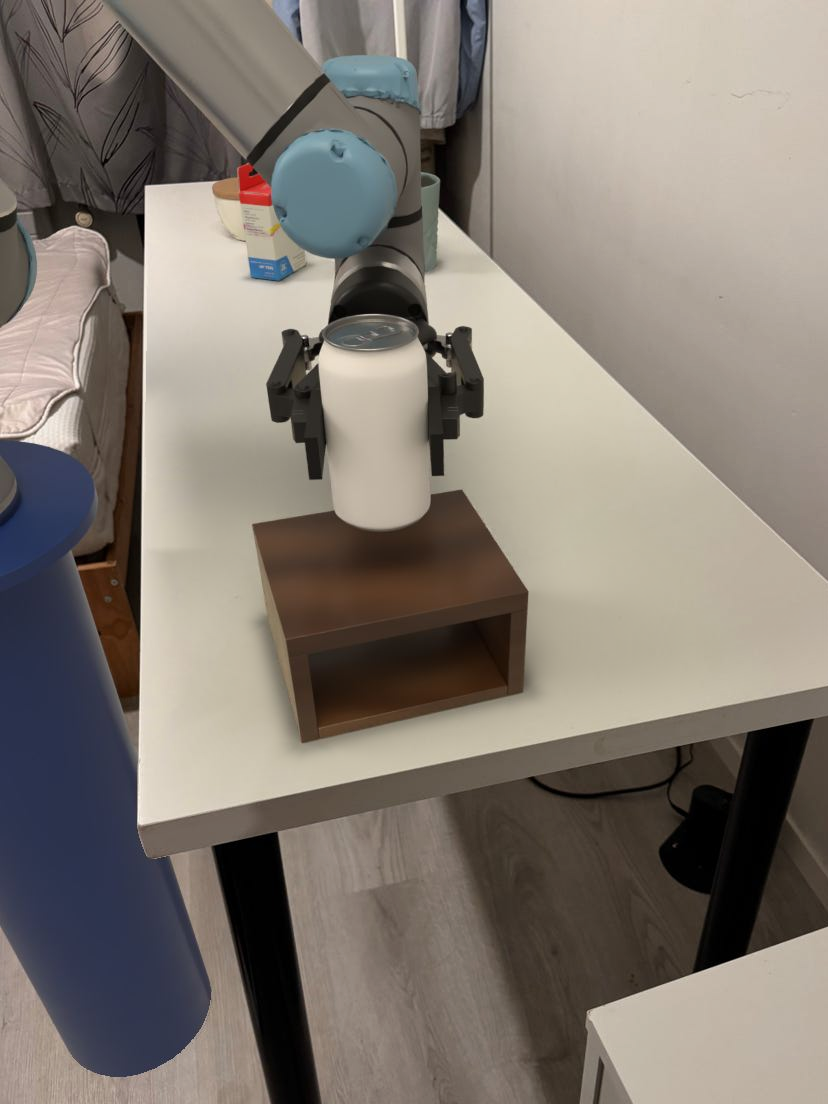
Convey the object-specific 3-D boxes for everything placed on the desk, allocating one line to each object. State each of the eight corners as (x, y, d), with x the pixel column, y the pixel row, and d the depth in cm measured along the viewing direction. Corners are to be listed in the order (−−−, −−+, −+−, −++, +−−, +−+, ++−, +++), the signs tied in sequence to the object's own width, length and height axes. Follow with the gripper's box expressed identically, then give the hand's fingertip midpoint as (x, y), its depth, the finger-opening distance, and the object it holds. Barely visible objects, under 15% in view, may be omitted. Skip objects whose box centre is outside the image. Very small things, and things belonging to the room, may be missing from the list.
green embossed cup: (447, 257, 144) (446, 172, 136) (433, 278, 136) (431, 190, 128) (383, 253, 145) (379, 169, 137) (366, 273, 137) (360, 186, 130)
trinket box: (281, 224, 157) (274, 163, 151) (291, 242, 149) (284, 179, 143) (216, 229, 154) (206, 167, 148) (223, 248, 146) (213, 183, 140)
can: (314, 506, 62) (292, 329, 54) (390, 474, 65) (379, 303, 58) (374, 546, 58) (360, 362, 51) (451, 510, 62) (448, 332, 54)
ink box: (279, 282, 134) (265, 171, 125) (249, 278, 135) (233, 167, 126) (307, 264, 140) (296, 157, 131) (278, 261, 141) (265, 154, 132)
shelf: (268, 621, 73) (251, 523, 67) (462, 584, 77) (462, 488, 71) (301, 743, 62) (285, 640, 57) (523, 692, 66) (528, 591, 61)
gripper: (503, 358, 74) (538, 507, 57) (258, 364, 73) (216, 518, 55) (505, 262, 70) (545, 392, 52) (244, 266, 68) (193, 400, 51)
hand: (375, 456), depth 54 cm, fingers closed on can, 6 cm apart
